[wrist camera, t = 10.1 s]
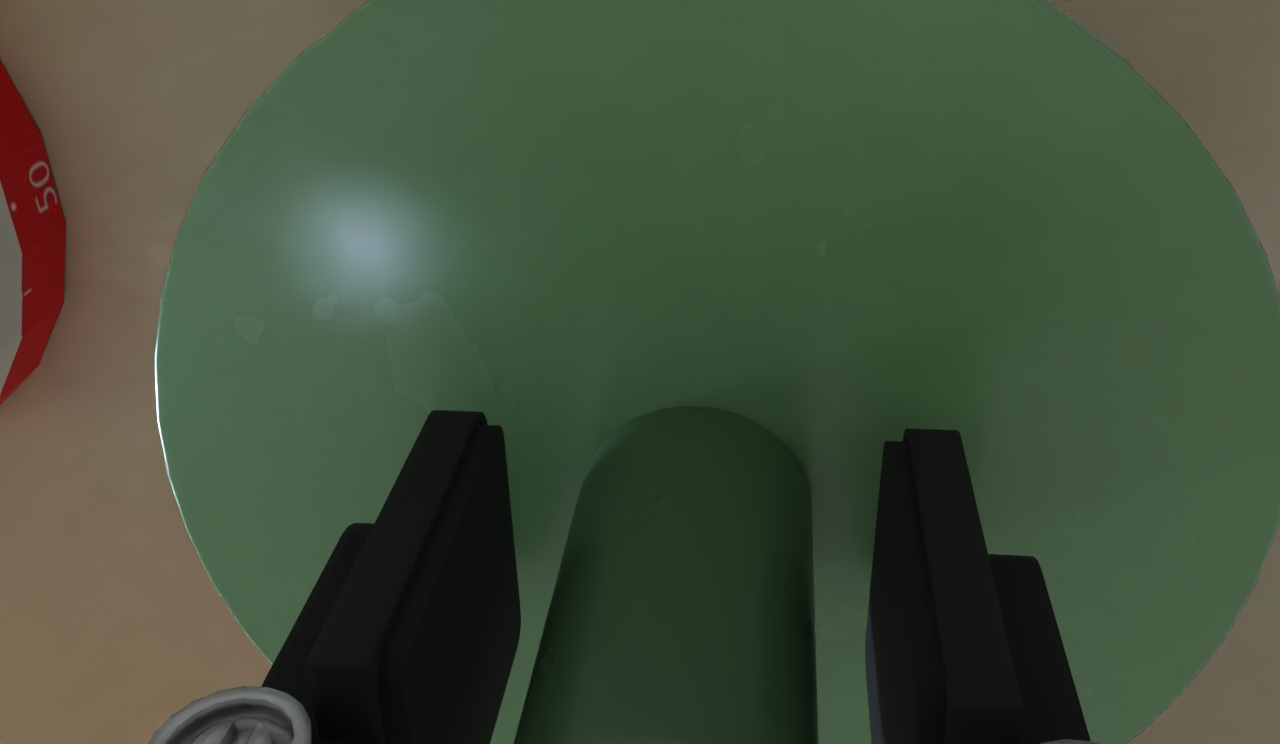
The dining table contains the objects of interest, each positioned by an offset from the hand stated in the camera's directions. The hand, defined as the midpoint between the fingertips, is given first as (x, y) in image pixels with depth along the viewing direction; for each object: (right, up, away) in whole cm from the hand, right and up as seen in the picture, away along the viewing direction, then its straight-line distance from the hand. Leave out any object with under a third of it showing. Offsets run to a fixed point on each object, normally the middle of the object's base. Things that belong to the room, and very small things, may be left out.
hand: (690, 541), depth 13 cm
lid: (0, +1, +1) cm, 1 cm away
